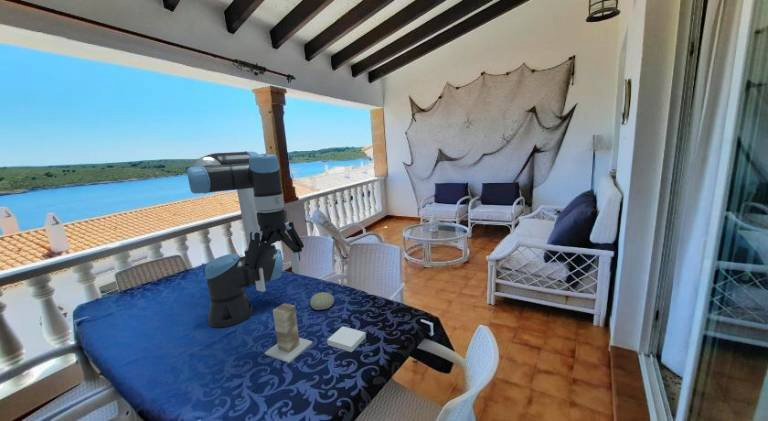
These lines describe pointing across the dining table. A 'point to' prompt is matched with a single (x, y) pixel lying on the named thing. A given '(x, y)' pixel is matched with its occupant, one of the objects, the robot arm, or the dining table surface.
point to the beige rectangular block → (286, 327)
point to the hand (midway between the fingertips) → (280, 280)
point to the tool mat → (293, 354)
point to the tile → (346, 338)
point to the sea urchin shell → (321, 301)
